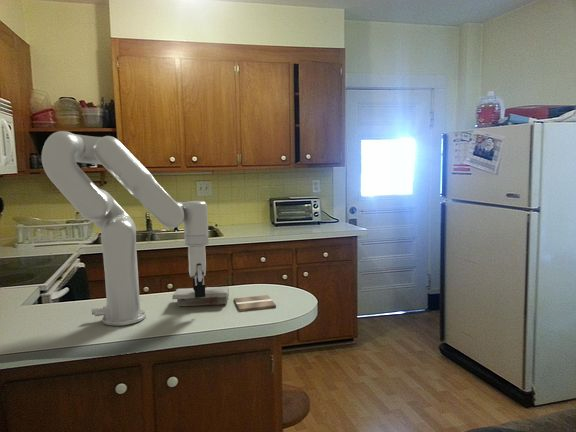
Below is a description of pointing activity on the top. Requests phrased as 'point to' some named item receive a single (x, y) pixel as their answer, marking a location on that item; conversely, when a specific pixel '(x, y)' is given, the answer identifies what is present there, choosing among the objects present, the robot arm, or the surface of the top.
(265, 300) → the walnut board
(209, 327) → the top surface
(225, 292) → the packaged product
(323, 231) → the top surface
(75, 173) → the robot arm
